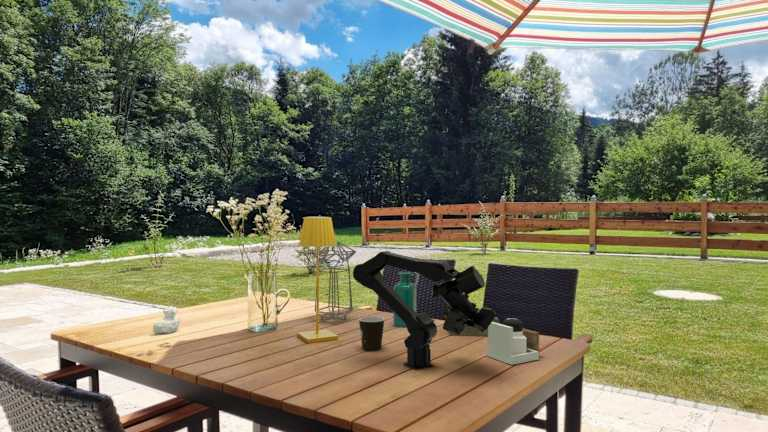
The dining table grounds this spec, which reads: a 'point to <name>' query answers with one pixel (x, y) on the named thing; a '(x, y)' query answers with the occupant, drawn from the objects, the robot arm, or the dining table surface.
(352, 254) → the geometric lantern
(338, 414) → the dining table surface
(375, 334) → the coffee mug
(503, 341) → the white angle bracket
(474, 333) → the beverage carton
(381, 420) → the dining table surface
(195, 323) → the dining table surface
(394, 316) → the teal tall bottle shape
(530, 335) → the wall
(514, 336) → the medicine bottle
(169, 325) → the bust
